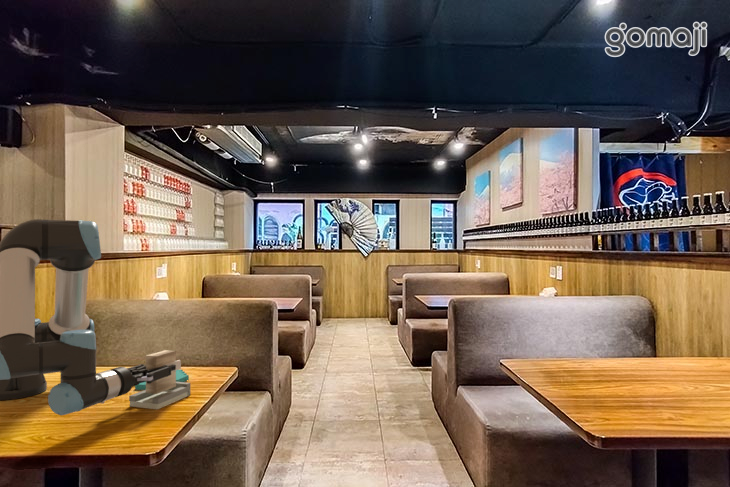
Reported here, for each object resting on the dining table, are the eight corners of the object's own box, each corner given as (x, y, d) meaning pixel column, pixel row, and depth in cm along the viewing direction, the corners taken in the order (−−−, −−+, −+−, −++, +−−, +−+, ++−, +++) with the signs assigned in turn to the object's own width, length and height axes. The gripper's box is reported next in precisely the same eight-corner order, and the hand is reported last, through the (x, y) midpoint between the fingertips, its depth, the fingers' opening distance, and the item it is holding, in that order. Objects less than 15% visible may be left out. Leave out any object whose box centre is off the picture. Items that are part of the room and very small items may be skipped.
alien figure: (111, 389, 154) (165, 392, 150) (111, 383, 154) (165, 385, 150) (150, 374, 174) (199, 376, 170) (150, 368, 174) (199, 370, 170)
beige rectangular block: (145, 392, 137) (145, 355, 137) (165, 385, 145) (165, 350, 145) (156, 393, 136) (156, 356, 136) (175, 386, 143) (175, 350, 144)
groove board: (129, 406, 135) (129, 393, 135) (164, 392, 149) (164, 380, 149) (158, 409, 132) (158, 396, 132) (191, 395, 145) (191, 382, 145)
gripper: (87, 395, 126) (152, 373, 148) (136, 400, 121) (196, 377, 143) (87, 367, 126) (152, 350, 148) (136, 371, 121) (196, 353, 143)
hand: (173, 363), depth 146 cm, fingers closed on beige rectangular block, 4 cm apart
